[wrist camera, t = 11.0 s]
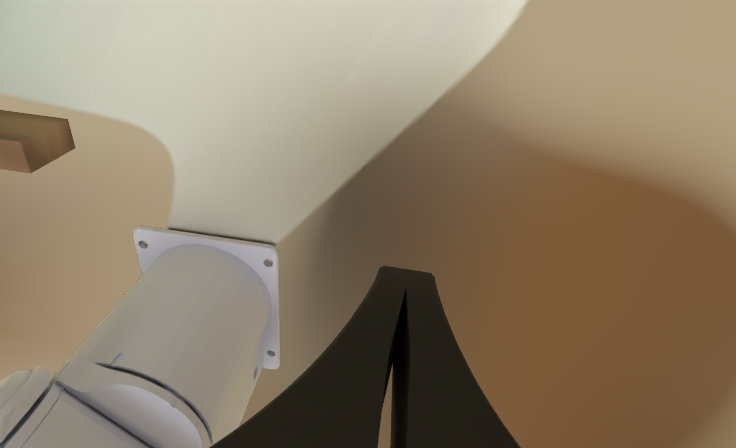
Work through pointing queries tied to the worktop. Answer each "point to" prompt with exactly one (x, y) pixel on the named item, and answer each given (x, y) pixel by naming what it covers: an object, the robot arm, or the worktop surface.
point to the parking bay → (32, 140)
